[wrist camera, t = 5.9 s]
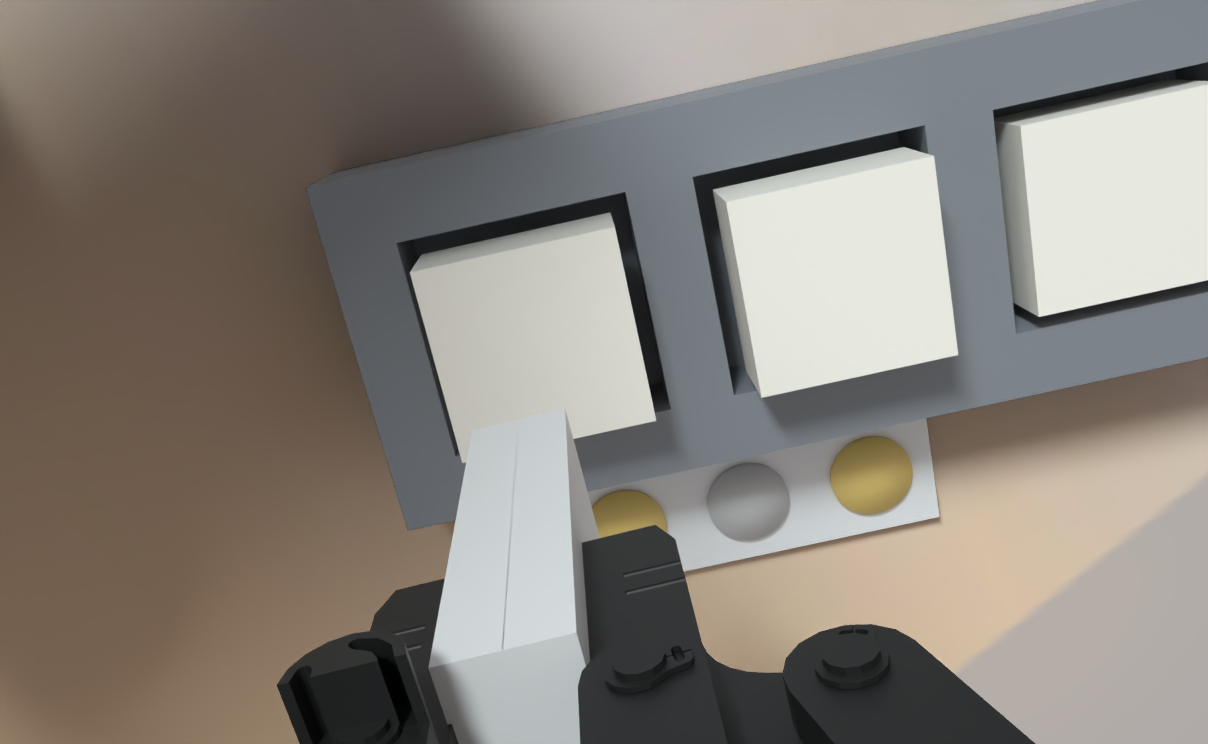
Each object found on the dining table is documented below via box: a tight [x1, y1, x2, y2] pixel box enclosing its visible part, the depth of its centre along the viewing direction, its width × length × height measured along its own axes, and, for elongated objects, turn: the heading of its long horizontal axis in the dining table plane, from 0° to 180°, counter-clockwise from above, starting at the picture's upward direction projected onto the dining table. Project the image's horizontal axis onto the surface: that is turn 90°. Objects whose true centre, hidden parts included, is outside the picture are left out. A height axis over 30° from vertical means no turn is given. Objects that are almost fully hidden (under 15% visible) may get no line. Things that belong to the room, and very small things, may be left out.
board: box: [306, 0, 1208, 531], centre depth 31 cm, size 26×10×4 cm, turn 102°
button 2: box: [713, 147, 958, 398], centre depth 28 cm, size 5×5×2 cm
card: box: [588, 419, 939, 572], centre depth 34 cm, size 12×4×1 cm, turn 102°
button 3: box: [994, 79, 1208, 317], centre depth 29 cm, size 5×5×2 cm
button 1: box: [410, 213, 656, 463], centre depth 28 cm, size 5×5×2 cm
